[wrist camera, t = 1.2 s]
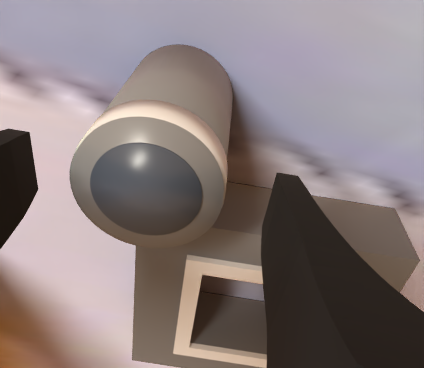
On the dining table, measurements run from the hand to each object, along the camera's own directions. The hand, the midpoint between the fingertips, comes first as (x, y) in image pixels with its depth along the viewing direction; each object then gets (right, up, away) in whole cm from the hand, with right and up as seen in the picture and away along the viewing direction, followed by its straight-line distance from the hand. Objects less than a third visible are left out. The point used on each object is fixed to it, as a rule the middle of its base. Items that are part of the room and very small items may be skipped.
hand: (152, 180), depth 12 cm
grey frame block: (+4, -5, +11) cm, 13 cm away
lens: (0, +4, +5) cm, 7 cm away
